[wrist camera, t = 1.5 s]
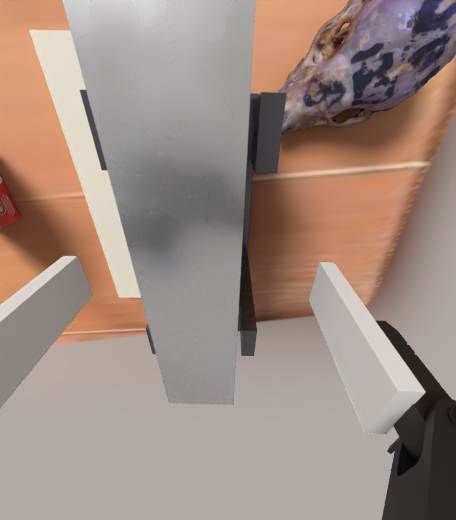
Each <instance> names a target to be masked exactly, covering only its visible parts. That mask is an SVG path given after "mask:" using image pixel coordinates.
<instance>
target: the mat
mask: <svg viewBox="0 0 456 520" xmlns="http://www.w3.org/2000/svg"><path fill="white" fill-rule="evenodd" d="M29 31H30V34H31V37H32V40H33V43H34V46H35V49H36V52H37V55H38V58H39V61H40V64H41V67H42V70H43V73H44V76H45V79H46V82H47V85H48V88H49V91H50V94H51V97H52V100H53V103H54V106H55V108H56V111H57V114H58V117H59V120H60V123H61V126H62V129H63V132H64V135H65V138H66V141H67V144H68V147H69V150H70V153H71V156H72V159H73V162H74V165H75V168H76V171H77V174H78V177H79V180H80V183H81V186H82V189H83V192H84V195H85V198H86V201H87V204H88V207H89V210H90V213H91V216H92V219H93V222H94V224H95V227H96V230H97V233H98V236H99V239H100V242H101V245H102V248H103V251H104V254H105V257H106V260H107V263H108V266H109V269H110V272H111V275H112V278H113V281H114V284H115V287H116V290H117V293H118V296H119V297H122V298H141V295H140V291H139V288H138V284H137V280H136V276H135V272H134V269H133V265H132V261H131V257H130V254H129V250H128V246H127V242H126V238H125V235H124V231H123V227H122V223H121V220H120V216H119V212H118V208H117V204H116V201H115V197H114V193H113V189H112V186H111V182H110V178H109V174H108V170H102V169H101V166H100V162H99V158H98V155H97V151H96V148H95V144H94V140H93V137H92V133H91V130H90V126H89V122H88V119H87V115H86V112H85V108H84V104H83V101H82V97H81V94H80V90H86V87H85V83H84V80H83V76H82V72H81V68H80V65H79V61H78V57H77V53H76V49H75V46H74V42H73V38H72V34H71V31H65V30H29Z"/></svg>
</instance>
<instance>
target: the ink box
mask: <svg viewBox="0 0 456 520" xmlns="http://www.w3.org/2000/svg"><path fill="white" fill-rule="evenodd" d="M20 219H21V218H20V216H19V214H18V212H17V210H16V208H15V206H14V204H13V201H12V199H11V197H10V195H9V193H8V191H7V189H6V187H5V185H4V182H3V180H2V178H1V176H0V228H3V227H5V226H7V225H9V224H11V223H13V222H15V221H18V220H20Z"/></svg>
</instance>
